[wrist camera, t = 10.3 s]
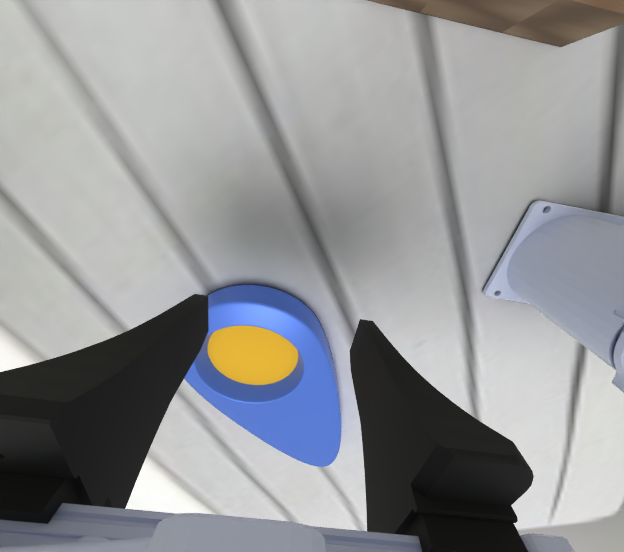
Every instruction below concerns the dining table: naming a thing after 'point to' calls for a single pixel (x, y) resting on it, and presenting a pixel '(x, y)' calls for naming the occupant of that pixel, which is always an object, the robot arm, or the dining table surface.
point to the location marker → (271, 371)
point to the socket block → (526, 16)
